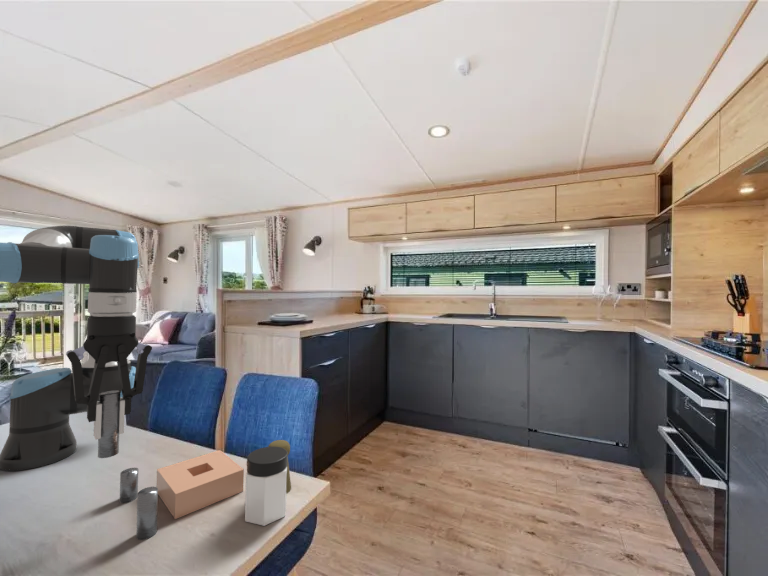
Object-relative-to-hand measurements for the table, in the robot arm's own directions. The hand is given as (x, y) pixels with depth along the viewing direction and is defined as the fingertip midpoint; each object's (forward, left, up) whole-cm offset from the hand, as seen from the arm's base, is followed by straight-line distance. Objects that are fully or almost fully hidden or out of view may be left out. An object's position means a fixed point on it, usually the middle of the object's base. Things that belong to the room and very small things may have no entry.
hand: (108, 434), depth 67 cm
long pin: (0, 0, -4) cm, 4 cm away
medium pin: (+8, +5, -18) cm, 20 cm away
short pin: (-8, +5, -18) cm, 20 cm away
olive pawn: (+12, +30, -18) cm, 37 cm away
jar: (+18, +24, -18) cm, 35 cm away
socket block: (0, +17, -18) cm, 25 cm away
